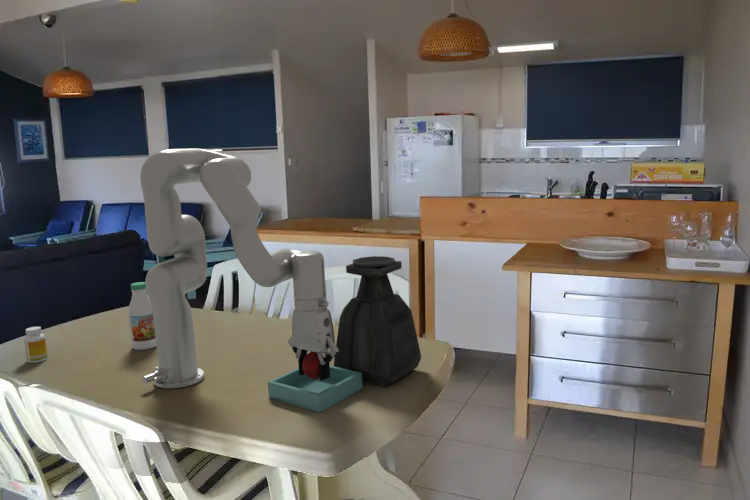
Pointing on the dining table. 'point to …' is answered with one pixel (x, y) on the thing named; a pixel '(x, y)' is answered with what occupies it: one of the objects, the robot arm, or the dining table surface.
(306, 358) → the onion
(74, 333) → the dining table surface
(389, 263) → the bottle
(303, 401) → the serving dish
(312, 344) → the robot arm
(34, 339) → the supplement bottle
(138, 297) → the milk bottle
